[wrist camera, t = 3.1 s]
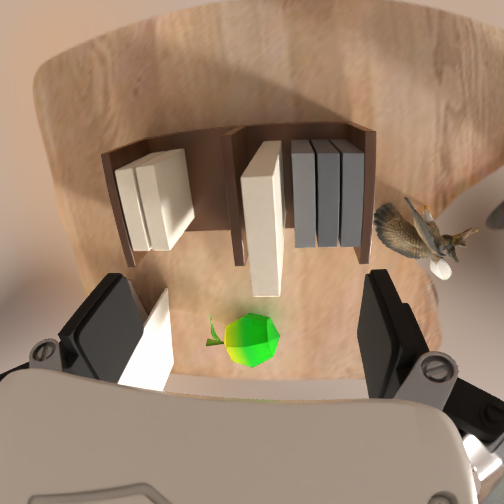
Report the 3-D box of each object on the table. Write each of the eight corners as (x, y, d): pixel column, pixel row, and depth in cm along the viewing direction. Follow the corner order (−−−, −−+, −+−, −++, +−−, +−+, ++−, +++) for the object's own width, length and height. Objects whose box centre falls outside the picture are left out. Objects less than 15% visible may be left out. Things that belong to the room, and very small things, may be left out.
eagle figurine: (467, 195, 25) (401, 172, 24) (488, 258, 22) (421, 245, 20) (426, 231, 32) (363, 218, 30) (439, 289, 28) (372, 283, 27)
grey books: (346, 139, 25) (364, 152, 19) (346, 213, 28) (360, 247, 22) (291, 139, 25) (291, 153, 19) (294, 213, 29) (295, 248, 23)
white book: (281, 140, 26) (273, 175, 14) (285, 214, 29) (280, 296, 17) (263, 141, 26) (240, 176, 14) (268, 214, 29) (252, 296, 18)
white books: (184, 148, 27) (153, 164, 21) (195, 217, 30) (170, 250, 24) (151, 152, 27) (114, 170, 21) (163, 219, 31) (133, 251, 25)
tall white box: (127, 278, 36) (-8, 487, 10) (167, 287, 36) (46, 525, 10) (140, 354, 43) (61, 525, 17) (173, 363, 43) (104, 546, 17)
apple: (277, 364, 30) (196, 371, 32) (288, 364, 35) (218, 371, 37) (269, 297, 32) (192, 309, 34) (281, 307, 38) (214, 318, 40)
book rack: (353, 122, 25) (376, 131, 18) (352, 223, 29) (369, 264, 22) (144, 138, 28) (100, 154, 21) (160, 229, 32) (127, 266, 25)
